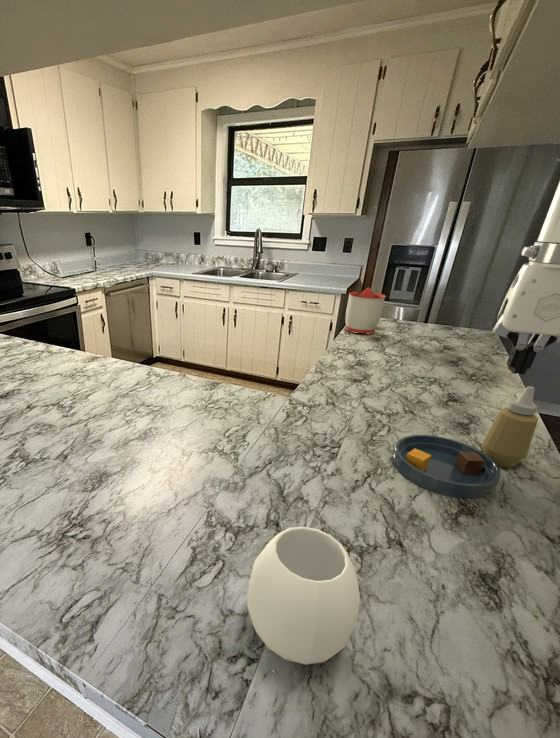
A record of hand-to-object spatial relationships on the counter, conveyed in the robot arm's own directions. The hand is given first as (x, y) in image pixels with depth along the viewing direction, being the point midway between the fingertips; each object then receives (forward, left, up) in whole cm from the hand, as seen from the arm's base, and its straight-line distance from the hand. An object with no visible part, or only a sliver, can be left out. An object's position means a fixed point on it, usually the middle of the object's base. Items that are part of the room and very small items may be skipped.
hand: (515, 371), depth 68 cm
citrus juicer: (+19, -120, -25) cm, 125 cm away
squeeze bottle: (-9, -14, -25) cm, 30 cm away
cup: (+29, +42, -25) cm, 57 cm away
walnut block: (-1, -7, -25) cm, 26 cm away
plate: (+4, -5, -25) cm, 26 cm away
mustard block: (+9, -3, -25) cm, 27 cm away
